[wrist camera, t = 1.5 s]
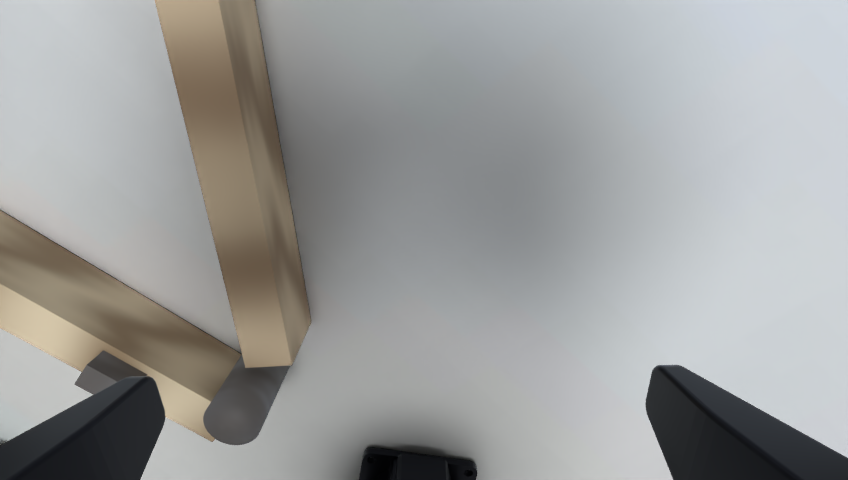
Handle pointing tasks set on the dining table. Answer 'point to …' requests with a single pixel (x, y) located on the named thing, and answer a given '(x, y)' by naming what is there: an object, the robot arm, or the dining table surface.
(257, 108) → the tongs jaw
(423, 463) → the robot arm
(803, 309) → the dining table surface
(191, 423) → the tongs fixed arm
